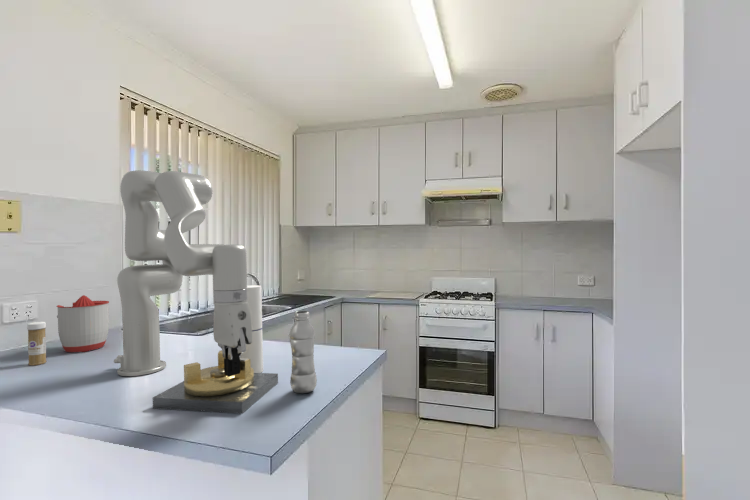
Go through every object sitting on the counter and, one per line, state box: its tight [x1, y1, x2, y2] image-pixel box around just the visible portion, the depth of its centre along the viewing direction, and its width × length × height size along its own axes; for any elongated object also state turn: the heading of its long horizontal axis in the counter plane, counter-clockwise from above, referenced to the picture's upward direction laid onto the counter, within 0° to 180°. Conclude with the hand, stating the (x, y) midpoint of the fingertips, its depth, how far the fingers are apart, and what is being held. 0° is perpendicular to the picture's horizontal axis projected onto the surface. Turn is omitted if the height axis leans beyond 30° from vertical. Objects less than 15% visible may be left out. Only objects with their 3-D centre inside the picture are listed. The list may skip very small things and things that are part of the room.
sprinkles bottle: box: [26, 321, 48, 366], centre depth 125 cm, size 5×5×13 cm
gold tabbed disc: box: [183, 349, 254, 396], centre depth 96 cm, size 16×16×6 cm
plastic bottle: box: [288, 310, 318, 394], centre depth 97 cm, size 6×7×20 cm
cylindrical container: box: [237, 284, 264, 373], centre depth 113 cm, size 7×7×25 cm
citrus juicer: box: [56, 294, 110, 353], centre depth 143 cm, size 16×17×20 cm
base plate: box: [152, 372, 279, 414], centre depth 96 cm, size 22×19×3 cm
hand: (232, 374), depth 91 cm, fingers closed
